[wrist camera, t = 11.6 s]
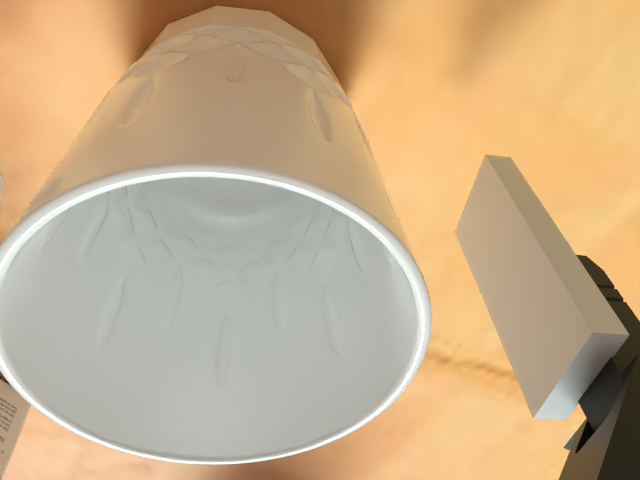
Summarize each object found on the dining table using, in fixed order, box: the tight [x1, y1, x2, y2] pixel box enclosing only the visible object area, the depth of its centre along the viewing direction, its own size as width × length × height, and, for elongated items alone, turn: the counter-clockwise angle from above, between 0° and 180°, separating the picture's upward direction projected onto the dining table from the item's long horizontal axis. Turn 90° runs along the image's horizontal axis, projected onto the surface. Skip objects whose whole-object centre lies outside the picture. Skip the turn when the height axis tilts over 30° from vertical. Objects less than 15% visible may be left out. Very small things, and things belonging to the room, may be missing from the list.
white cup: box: [0, 6, 432, 465], centre depth 14 cm, size 8×8×10 cm
